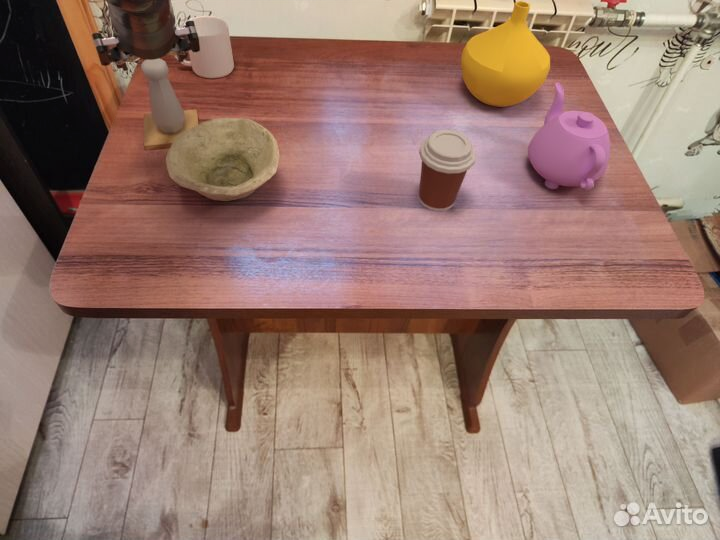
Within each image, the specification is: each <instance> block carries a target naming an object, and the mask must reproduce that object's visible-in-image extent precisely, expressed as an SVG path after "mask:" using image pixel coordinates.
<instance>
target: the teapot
mask: <svg viewBox="0 0 720 540" xmlns="http://www.w3.org/2000/svg"><path fill="white" fill-rule="evenodd" d="M554 88H555V94H554V98H553V101H552V103H551V105H550V107H549V109H548V110H547V112H546V114H545V117H544V122H543V125H542V126H541V127H540V128H539V129H538V130H537V131H536V133H535V134H534V135H533V136H532V138H531V140H530V142H529V144H528V147H527V156H528V159H529V161H530V163H531V166H532V167H533V169H534V170H535V172H536V173H538V175H539V176H541V177H542V178H543V179H545V181H544V186H545V187H546V188H548V189H551V190H556V189H558V188H559V186H563V187H580V188H582V190H584V191H590V190H592V189H593V188H594V187H595V182H596V181H598V180H599V179H600V178H601V177H603V175H604V174H605V172H606V170H607V169H608V166H609V163H610V159H611V140H610V135H609V130H608V128H607V126H606V124H605V122H603V121H602V120H601V118H599V117H598V116H596V115H595V114H593V113H592V112H590V111H582V110H567V111H564V112H563V110H564V109H563V107H564V103H565V102H564V101H565V90H564V87H563V85H562V84H561V83H560V82H557V81H556V82H555V84H554Z"/></svg>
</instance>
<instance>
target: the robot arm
mask: <svg viewBox="0 0 720 540" xmlns="http://www.w3.org/2000/svg"><path fill="white" fill-rule="evenodd" d="M104 1H105V2H106V3H107V9H108V10H107V11H108V14H109V17H110V20H111V25H112V27H113V29H114V32H115V33H114V35H113V36H111V37H107V36H106V35H102V33H101V32H94V33H92V34H91V36H92V40H93V44H94V46H95V49H96V53H97V56H98V58H99V62H100V65H101V66H103V67H107V66H110V65H111V63H114V65H115V66H116V68H117V69H119V70H120V69H122V71H123V72H126V71H129V69H128V65H127V63H134V62H135V61H137V60H138V59H142V60H154V59H159V58H160V59H162V58H163V57H165V56H166V55H168V56H172V57H175V55H177V57H178V60H177V61H178V62H179V63H180V62H184V60H186V59H187V58H188V55H189V50H192V52H198V51H200V45H199V38H198V34H197V31H196V27H195V24H194V21H187V20H186V21H187V22H186V21H185V22H186V23H185V22H184V23H185V24H186V25H184V24H183V25H184V26H183V25H182V27H179V28H177V27H176V16H175V11H174V6H173V3H172V0H104Z"/></svg>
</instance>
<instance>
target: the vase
mask: <svg viewBox="0 0 720 540" xmlns="http://www.w3.org/2000/svg"><path fill="white" fill-rule="evenodd" d="M530 9H531V4H530V3H529V2H527V1H523V0H519V1H515V2H514V6H513V9H512V13H511V16H510V17H509V19H507V21H505V22H504V23H501V24H499V25H497V26H495V27H493V28H490V29H488V30H485V31H483V32H480V33H478V34H476V35H474V36H472V37H471V38H470V39H469V40H468V41H467V43H466V44H465V46H464V47H463V49H462V54H461V60H460V67H461V74H462V79H463V81H464V84H465V86H466V88H467V90H468V91H469V92H470V93H471V95H472V96H473V97H474V98H476V99H477V100H478V101H480V102H481V103H483V104H485V105H488V106H491V107H498V108H507V107H510V106H511V107H512V106H515V105H518V104H519V103H522V102H524V101H526V100H527V99H529V98H530V97H532V96H533V95H534V94H535V93H536V92H537V91H538V90H539V89H540V88H541V87H542V85H543V84H545V81H546V79H547V77H548V75H549V72H550V70H551V56H550V53H549V52H548V50H547V49H546V48H545V46H543V44H542V43H541V42H540V41H539V40H538V39H537V38H536V36H535V34H534V33H533V32H532V31H531V30H530V28H529V26H528V24H527V18H528V14H529V12H530Z"/></svg>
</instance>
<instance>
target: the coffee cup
mask: <svg viewBox="0 0 720 540" xmlns="http://www.w3.org/2000/svg"><path fill="white" fill-rule="evenodd" d="M418 154H419V157H420V160H421V168H420V177H419V189H418V195H417V196H418V200H419V203H420V204H421V205H422V206H423V207H424V208H426V209H428V210H430V211H434V212H445V211H447V210H450V209H451V208H452V207H453V206H454V204H455V202H456V200H457V197H458V194H459V193H460V192H459V191H460V189H461V187H462V184H463V181H464V179H465V177H466V174H467V172H468V171H469V170H470V169H471V168H472V167H473V166H474V165H475V162H476V156H477V153H476V151H475V149H474V146H473V143H472V142H471V140H470V139H469V138H468V137H467V136H466V134H463V133H461V132H459V131H456V130H453V129H452V130H451V129H440V130H437V131H435V132H433V133H432V134H430V135H429V136H428V137H426V139H424V140H423V141H422V142H421V144H420V146H419V151H418Z"/></svg>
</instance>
